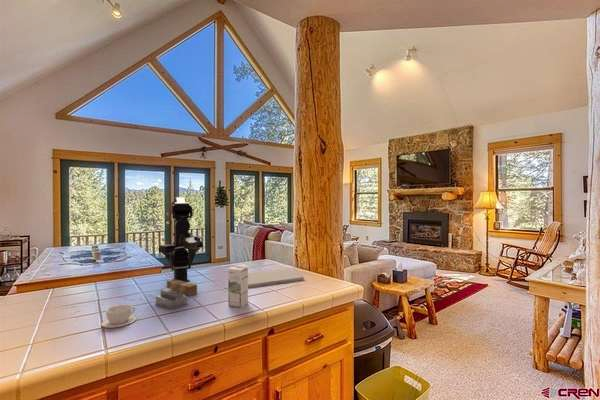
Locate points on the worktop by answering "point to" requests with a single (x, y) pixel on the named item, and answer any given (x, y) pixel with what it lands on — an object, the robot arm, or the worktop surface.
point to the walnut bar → (182, 286)
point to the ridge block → (171, 298)
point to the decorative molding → (274, 277)
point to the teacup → (119, 316)
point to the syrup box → (238, 286)
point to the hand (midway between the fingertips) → (181, 265)
